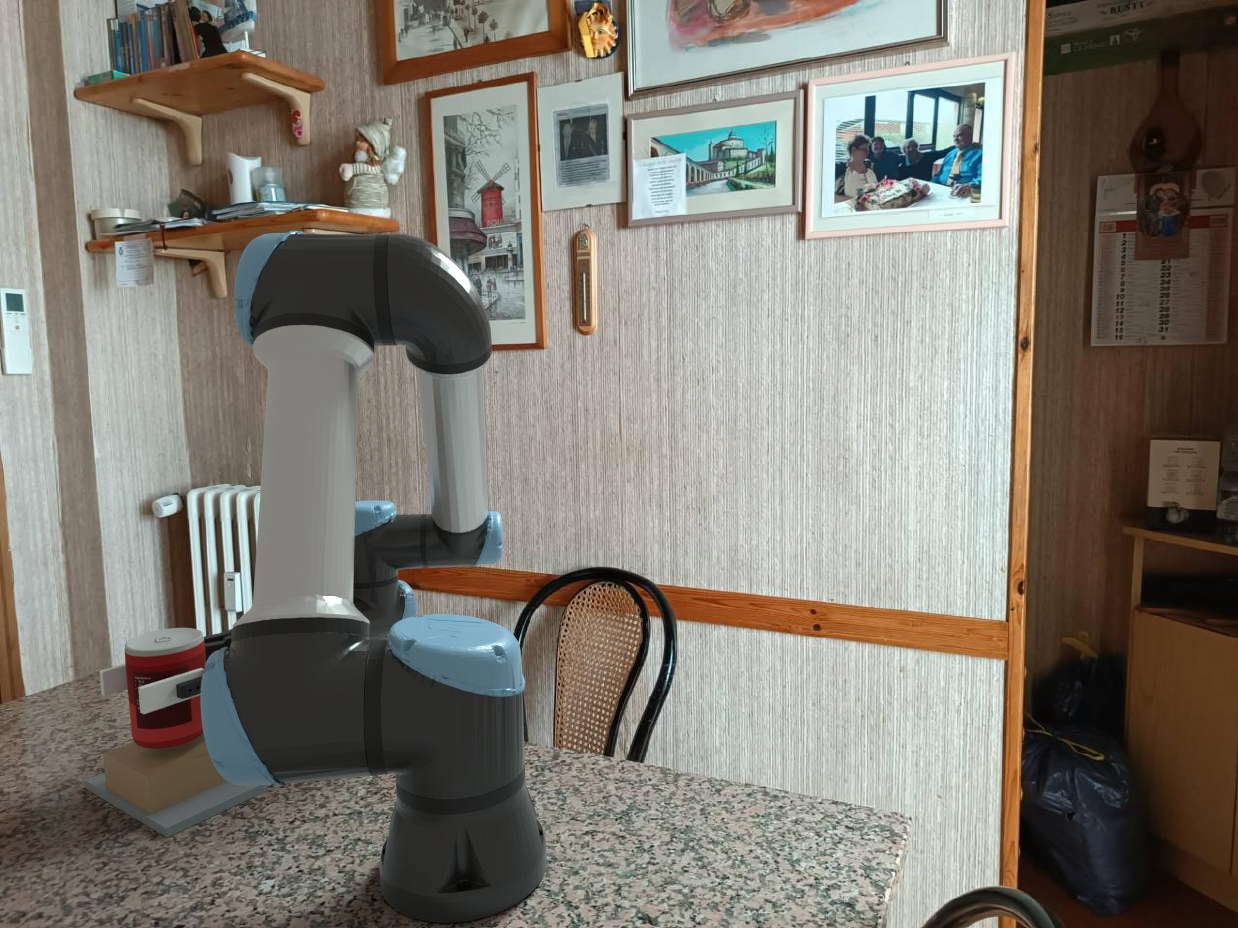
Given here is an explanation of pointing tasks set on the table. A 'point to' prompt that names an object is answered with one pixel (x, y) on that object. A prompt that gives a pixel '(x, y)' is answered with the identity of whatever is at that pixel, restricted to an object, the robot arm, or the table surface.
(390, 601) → the robot arm
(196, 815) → the plinth
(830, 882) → the table surface
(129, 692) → the canned food
